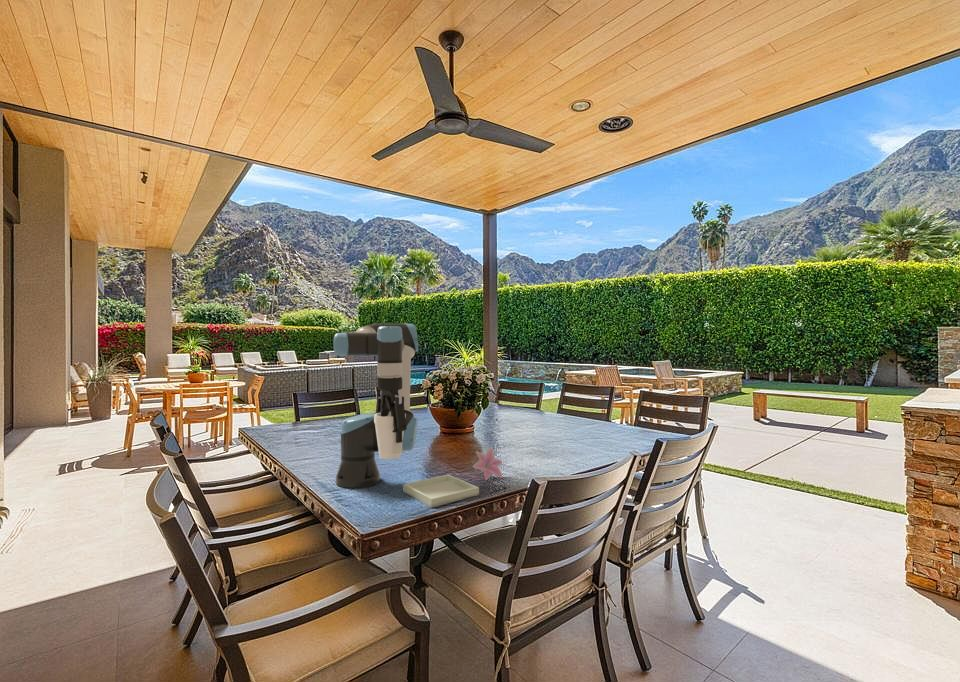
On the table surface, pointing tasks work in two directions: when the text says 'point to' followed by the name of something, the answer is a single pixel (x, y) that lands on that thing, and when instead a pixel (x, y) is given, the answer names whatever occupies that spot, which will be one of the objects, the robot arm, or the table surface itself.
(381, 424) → the foam cup
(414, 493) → the tray
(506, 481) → the table surface
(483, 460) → the lily
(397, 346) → the robot arm
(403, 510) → the table surface
